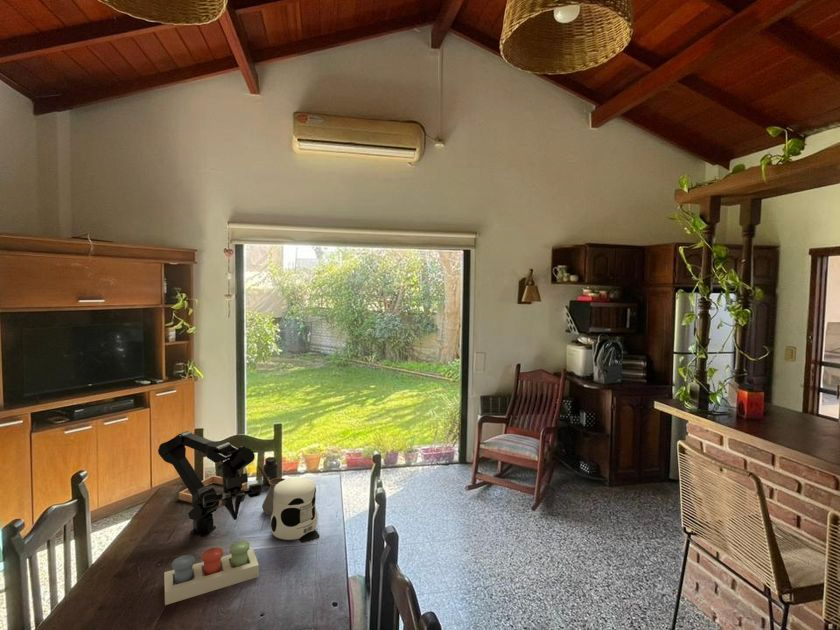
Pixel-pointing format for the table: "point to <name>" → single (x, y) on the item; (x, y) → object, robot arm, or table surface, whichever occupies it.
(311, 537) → the phone
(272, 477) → the supplement bottle
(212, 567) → the red button
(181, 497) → the square wooden frame
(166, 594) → the button console
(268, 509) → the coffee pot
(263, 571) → the table surface
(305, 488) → the milk container
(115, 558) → the table surface
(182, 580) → the slate blue button
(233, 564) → the sage green button
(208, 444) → the robot arm
